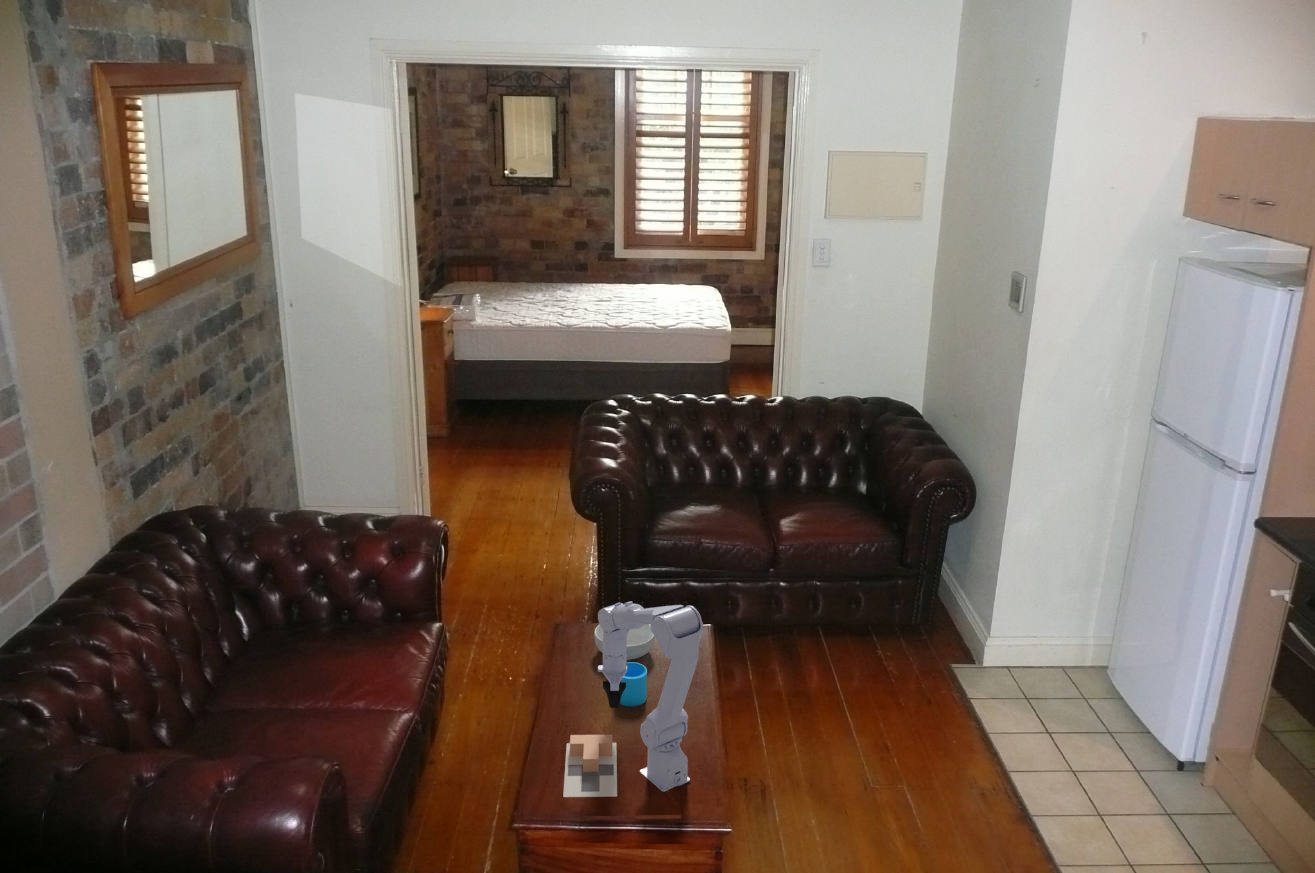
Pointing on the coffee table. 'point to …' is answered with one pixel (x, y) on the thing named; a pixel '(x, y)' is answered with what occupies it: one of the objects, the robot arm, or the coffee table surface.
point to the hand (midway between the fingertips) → (614, 700)
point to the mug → (634, 685)
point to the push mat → (590, 776)
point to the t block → (590, 749)
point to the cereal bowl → (631, 641)
